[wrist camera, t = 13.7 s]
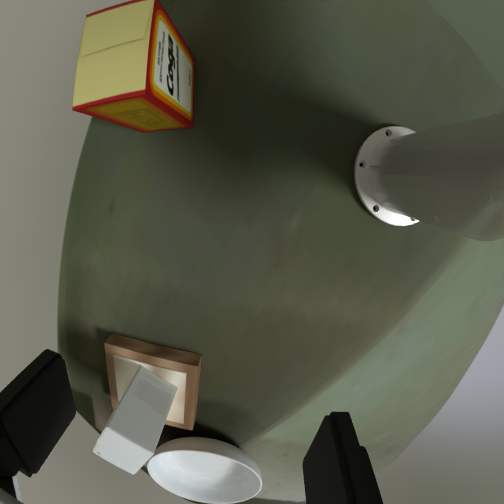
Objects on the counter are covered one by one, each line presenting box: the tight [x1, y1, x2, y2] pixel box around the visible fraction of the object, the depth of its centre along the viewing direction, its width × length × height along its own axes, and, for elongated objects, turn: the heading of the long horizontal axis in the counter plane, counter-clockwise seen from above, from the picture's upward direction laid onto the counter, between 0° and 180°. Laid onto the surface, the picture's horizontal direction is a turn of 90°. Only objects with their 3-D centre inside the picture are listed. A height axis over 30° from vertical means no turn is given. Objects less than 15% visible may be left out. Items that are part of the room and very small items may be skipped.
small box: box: [93, 366, 178, 475], centre depth 32 cm, size 8×6×13 cm
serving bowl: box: [147, 437, 262, 504], centre depth 43 cm, size 21×21×7 cm
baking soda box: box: [72, 0, 195, 133], centre depth 24 cm, size 10×6×16 cm
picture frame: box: [104, 333, 202, 430], centre depth 40 cm, size 14×14×3 cm
